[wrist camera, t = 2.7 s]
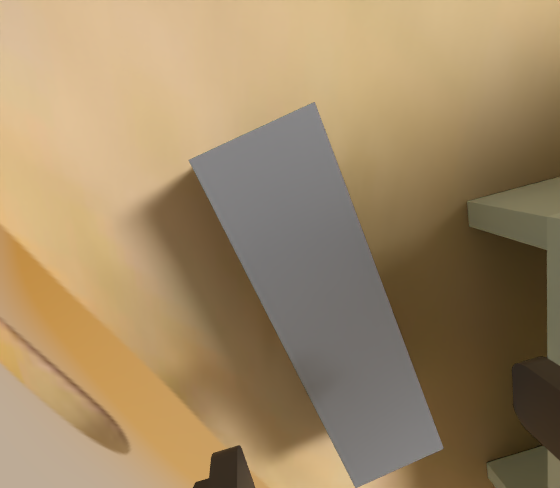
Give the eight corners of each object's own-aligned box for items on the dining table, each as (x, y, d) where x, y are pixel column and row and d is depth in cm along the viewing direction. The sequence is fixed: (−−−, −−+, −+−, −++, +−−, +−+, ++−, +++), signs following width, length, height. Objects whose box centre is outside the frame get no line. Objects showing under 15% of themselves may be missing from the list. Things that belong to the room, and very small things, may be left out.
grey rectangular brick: (293, 118, 16) (314, 101, 12) (399, 383, 21) (443, 448, 17) (204, 159, 16) (188, 160, 12) (330, 414, 21) (355, 488, 17)
